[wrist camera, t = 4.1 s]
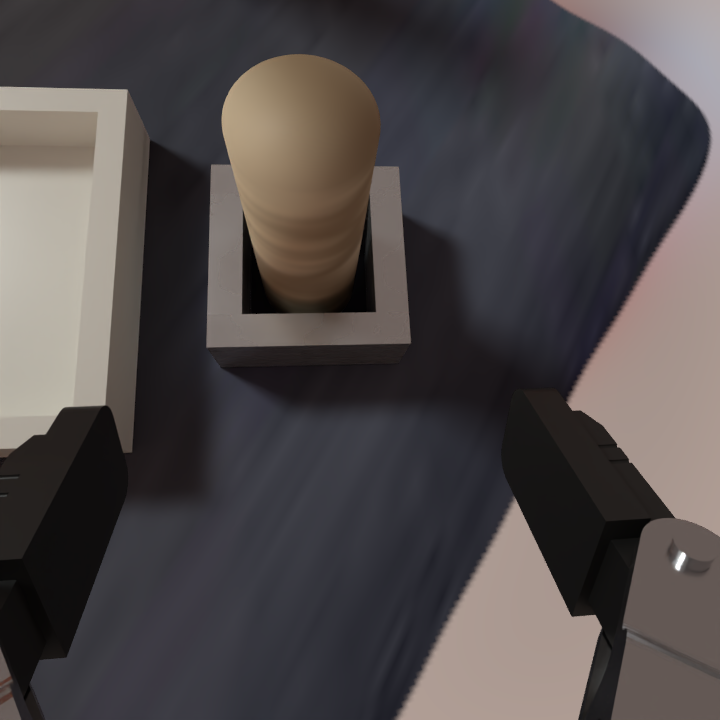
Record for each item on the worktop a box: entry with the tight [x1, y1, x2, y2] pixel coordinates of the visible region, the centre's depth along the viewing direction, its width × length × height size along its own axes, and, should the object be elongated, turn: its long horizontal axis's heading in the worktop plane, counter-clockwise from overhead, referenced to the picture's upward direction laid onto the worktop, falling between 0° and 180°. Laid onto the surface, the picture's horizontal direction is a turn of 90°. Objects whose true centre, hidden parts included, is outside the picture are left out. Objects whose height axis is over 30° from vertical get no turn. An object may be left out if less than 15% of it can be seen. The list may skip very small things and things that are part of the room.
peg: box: [222, 54, 381, 314], centre depth 21 cm, size 4×4×12 cm
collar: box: [207, 165, 411, 367], centre depth 25 cm, size 8×8×4 cm
